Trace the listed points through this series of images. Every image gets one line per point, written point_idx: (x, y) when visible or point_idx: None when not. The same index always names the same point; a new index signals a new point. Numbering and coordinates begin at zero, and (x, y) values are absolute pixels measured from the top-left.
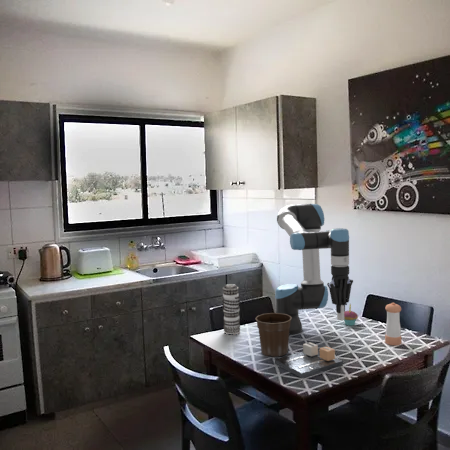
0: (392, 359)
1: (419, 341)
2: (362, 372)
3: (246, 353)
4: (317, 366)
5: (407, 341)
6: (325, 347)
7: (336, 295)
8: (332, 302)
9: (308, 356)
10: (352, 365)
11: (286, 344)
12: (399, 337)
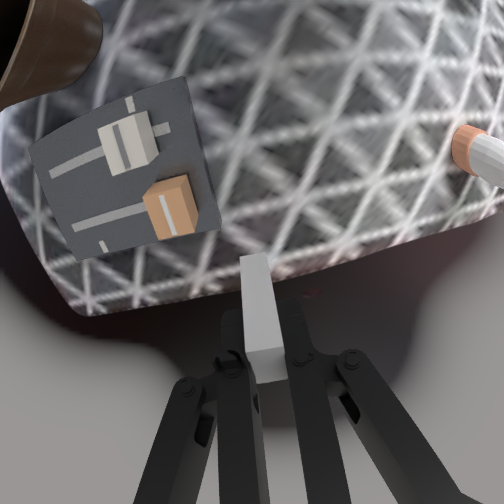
0: (379, 238)
1: None
2: None
3: None
4: (124, 238)
5: None
6: (165, 206)
7: (198, 483)
8: (173, 396)
9: None
10: (250, 230)
11: (62, 78)
12: (478, 176)
